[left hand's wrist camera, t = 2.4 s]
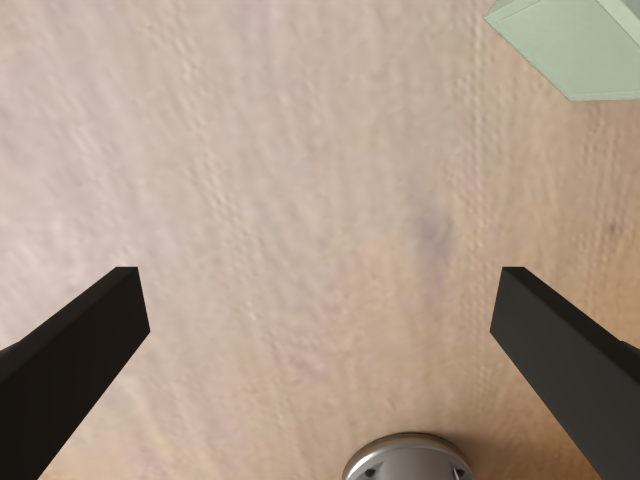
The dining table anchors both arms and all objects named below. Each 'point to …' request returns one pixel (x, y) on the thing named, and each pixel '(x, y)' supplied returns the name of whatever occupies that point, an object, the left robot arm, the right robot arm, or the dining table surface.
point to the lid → (625, 15)
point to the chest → (572, 46)
